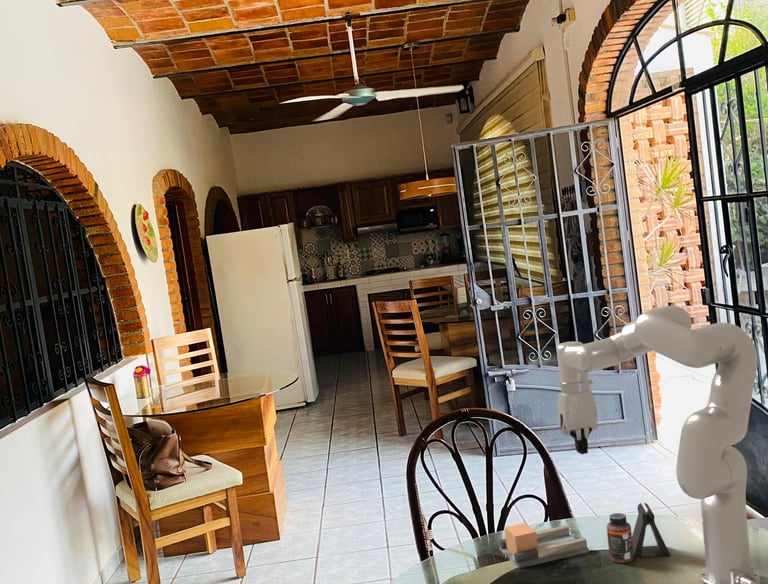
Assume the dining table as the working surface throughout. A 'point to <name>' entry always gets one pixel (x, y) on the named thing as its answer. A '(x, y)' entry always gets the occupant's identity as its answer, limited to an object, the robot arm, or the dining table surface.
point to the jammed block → (520, 538)
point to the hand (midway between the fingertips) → (582, 452)
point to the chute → (548, 547)
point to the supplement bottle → (619, 539)
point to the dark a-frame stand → (639, 534)
